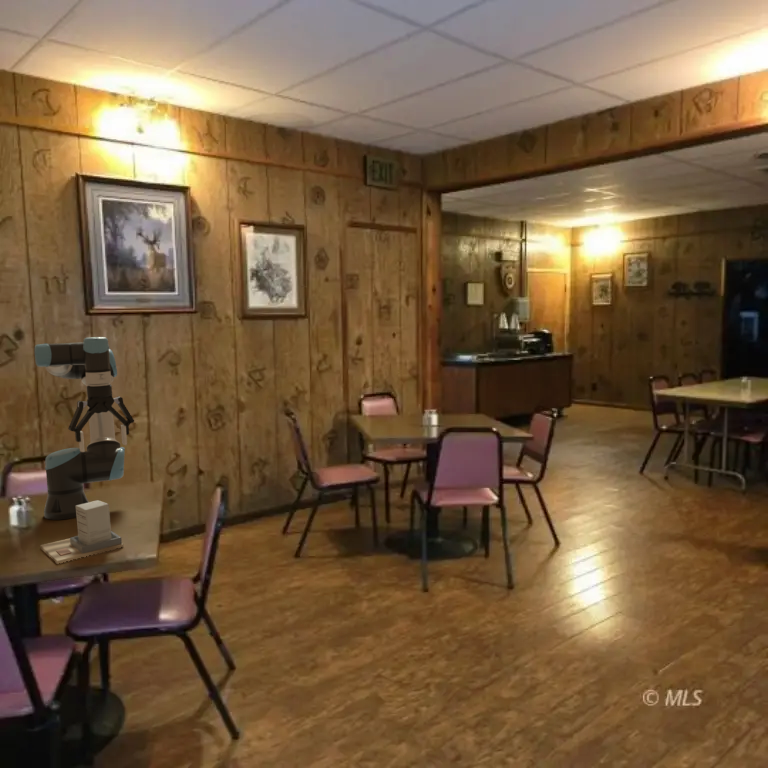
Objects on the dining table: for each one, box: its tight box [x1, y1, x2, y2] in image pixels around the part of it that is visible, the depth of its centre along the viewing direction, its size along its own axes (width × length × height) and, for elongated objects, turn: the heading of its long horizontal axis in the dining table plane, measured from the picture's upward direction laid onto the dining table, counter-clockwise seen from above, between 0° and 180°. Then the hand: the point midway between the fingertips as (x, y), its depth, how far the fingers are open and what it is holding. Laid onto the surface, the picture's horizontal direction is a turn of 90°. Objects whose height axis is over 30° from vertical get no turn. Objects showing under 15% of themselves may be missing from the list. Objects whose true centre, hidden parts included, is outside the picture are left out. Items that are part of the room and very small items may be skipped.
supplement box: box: [76, 499, 112, 546], centre depth 201 cm, size 7×7×13 cm
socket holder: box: [70, 530, 123, 554], centre depth 201 cm, size 12×12×2 cm
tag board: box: [39, 537, 124, 565], centre depth 201 cm, size 18×19×1 cm
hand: (103, 447), depth 215 cm, fingers open, 13 cm apart
